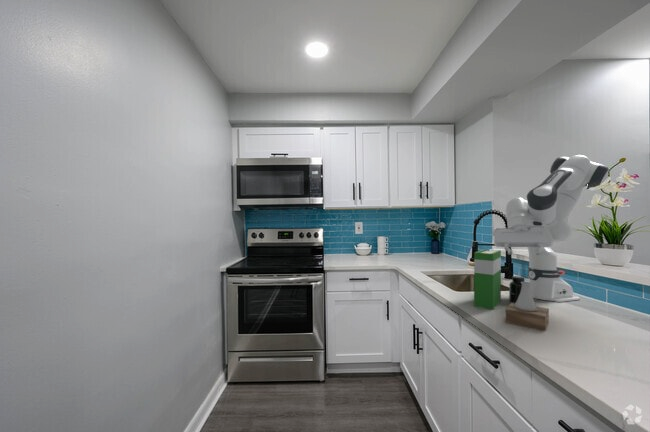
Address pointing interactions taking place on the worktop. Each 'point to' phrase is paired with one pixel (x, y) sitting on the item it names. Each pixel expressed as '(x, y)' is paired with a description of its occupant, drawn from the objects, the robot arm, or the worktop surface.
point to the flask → (525, 298)
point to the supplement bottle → (515, 288)
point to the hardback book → (487, 279)
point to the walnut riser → (528, 317)
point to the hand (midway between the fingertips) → (524, 253)
